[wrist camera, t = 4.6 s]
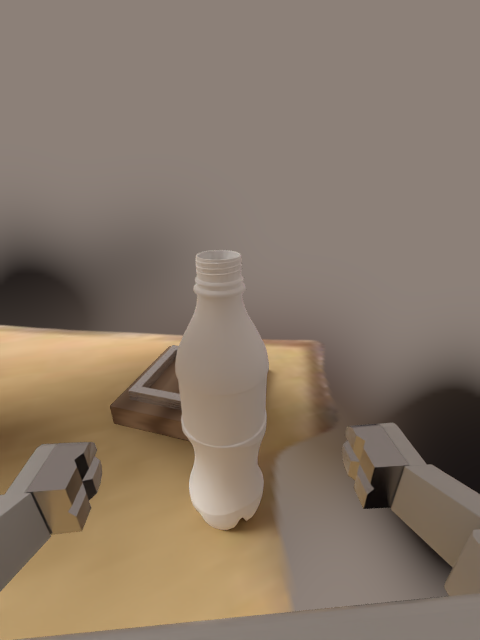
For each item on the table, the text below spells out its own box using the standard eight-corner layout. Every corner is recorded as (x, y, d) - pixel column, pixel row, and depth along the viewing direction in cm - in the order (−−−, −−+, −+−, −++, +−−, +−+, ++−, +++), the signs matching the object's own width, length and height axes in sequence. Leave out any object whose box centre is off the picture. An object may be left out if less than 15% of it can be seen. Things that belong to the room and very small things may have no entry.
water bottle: (205, 555, 25) (178, 275, 15) (183, 485, 31) (152, 249, 20) (276, 518, 28) (296, 260, 17) (243, 460, 34) (243, 241, 23)
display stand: (114, 423, 39) (107, 396, 37) (171, 360, 53) (168, 338, 51) (227, 449, 35) (226, 421, 33) (256, 374, 49) (257, 351, 47)
